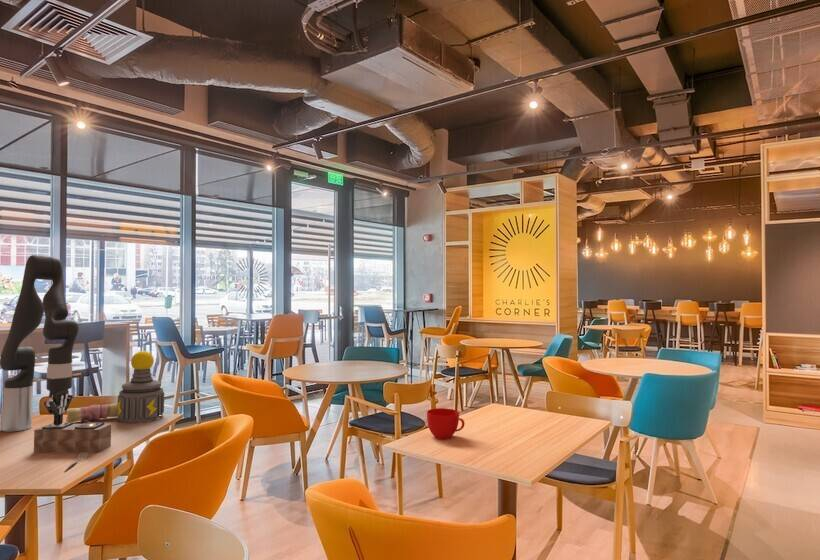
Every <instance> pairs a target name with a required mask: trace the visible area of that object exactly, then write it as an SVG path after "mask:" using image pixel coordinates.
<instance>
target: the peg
mask: <svg viewBox="0 0 820 560" xmlns="http://www.w3.org/2000/svg"><path fill="white" fill-rule="evenodd" d="M65 423H66V422H63V423H62V424H60V425H54V424H52V423H51V424H52V425H51V427H61V426H63V425H65Z"/></svg>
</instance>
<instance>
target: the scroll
mask: <svg viewBox="0 0 820 560" xmlns="http://www.w3.org/2000/svg"><path fill="white" fill-rule="evenodd" d="M117 405H118V402H115V403H110V404H107V403H106V404H102V405H100V404H92V405H89V406H81V407H73V408H72V407H71V408H70V407H68V409H67V410H66V415H67V416H66V420H65V421H66V422H65V423H76V422H81V423H83V422H86V421H87V422H88V421H96V422H99V421H100V420H101V419H105V420H106V419H108V418H116V417H117ZM117 418H118V417H117ZM98 420H99V421H98Z"/></svg>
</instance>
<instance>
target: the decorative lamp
mask: <svg viewBox="0 0 820 560" xmlns="http://www.w3.org/2000/svg"><path fill="white" fill-rule="evenodd" d="M130 365H131V367H132V369H133V373H132V376H131V378H130V381H127V382H125V383H122V385H121V390H119V394H118V396H117V403H118V405H117V418H118V421H119V422H121V423H124V422H125V424H138V423H139V422H142V423H148V422H147V421H149V422H152V421H151V420H154V421H157V420H159V419H158V418H160V419H161V418H162V417H163V415H164V413H165V401H166V400H165V392H164V388H163V387H161V386H162V382H161V381H158V380H156V379H154V377H152V376H153V375H152V373H151V368H152V367H153V365H154V356H153V354H151V352H149V351H146V350H141V351H138V352H135V353H134V355H132V356H131V360H130ZM159 415H162V416H159ZM156 419H157V420H156ZM139 424H140V423H139Z"/></svg>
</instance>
